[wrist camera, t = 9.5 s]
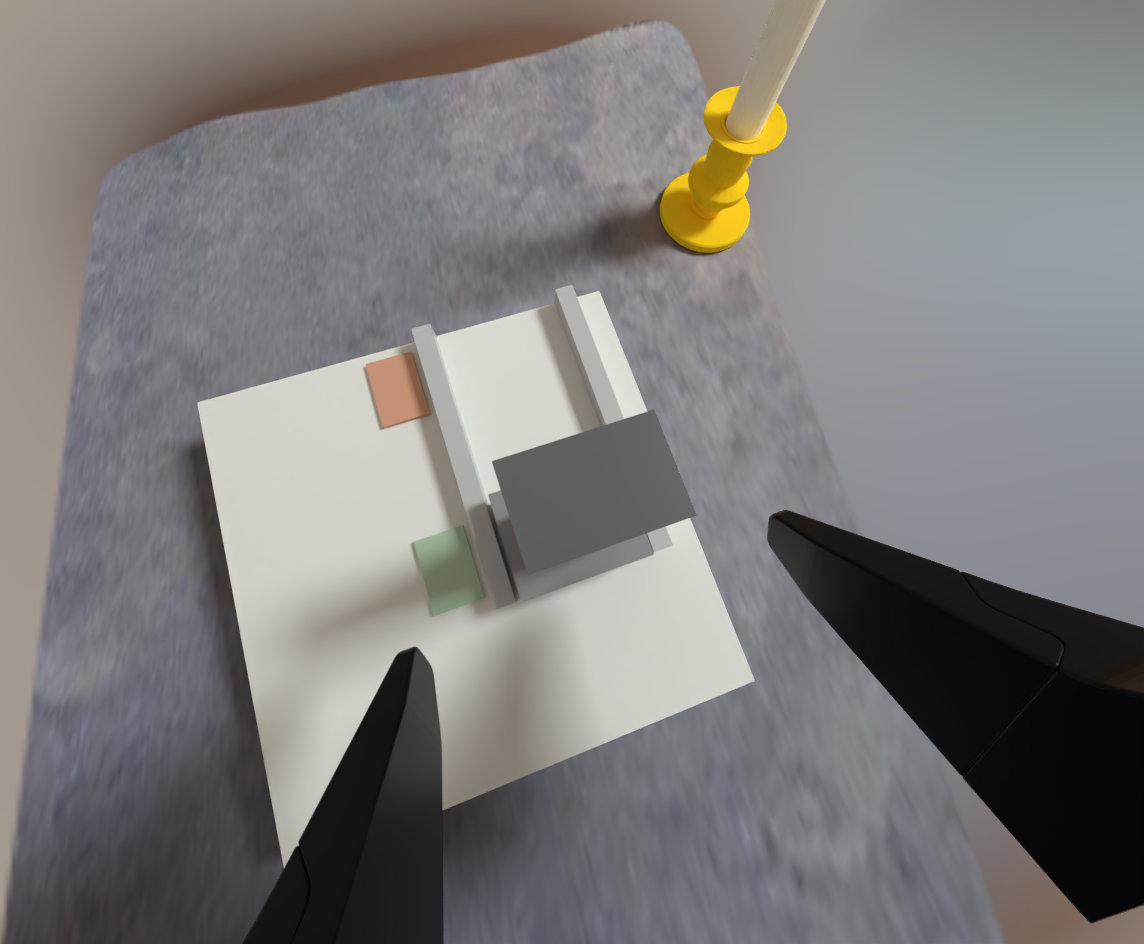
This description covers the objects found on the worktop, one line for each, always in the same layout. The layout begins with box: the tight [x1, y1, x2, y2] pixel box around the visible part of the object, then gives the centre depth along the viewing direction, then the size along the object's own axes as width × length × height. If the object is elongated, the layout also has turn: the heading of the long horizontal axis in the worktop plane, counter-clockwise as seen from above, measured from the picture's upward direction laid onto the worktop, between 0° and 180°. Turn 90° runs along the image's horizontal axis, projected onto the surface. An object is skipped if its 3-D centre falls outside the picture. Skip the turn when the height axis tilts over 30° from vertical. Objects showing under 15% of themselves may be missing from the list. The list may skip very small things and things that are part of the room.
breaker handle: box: [488, 410, 696, 603], centre depth 12 cm, size 4×5×10 cm
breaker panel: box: [198, 285, 755, 868], centre depth 17 cm, size 18×18×4 cm
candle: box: [660, 0, 826, 253], centre depth 16 cm, size 5×5×16 cm
